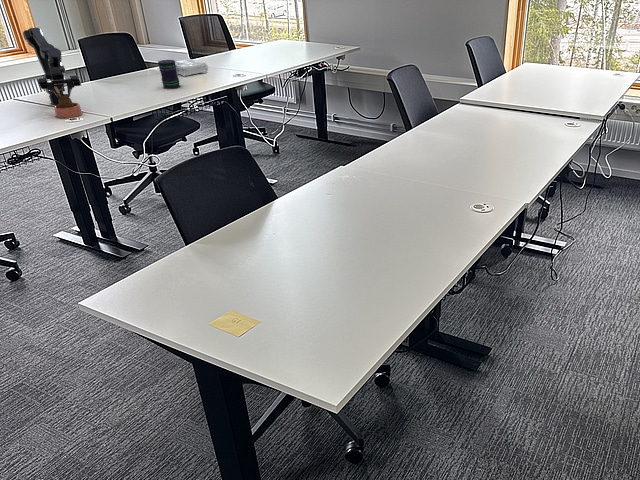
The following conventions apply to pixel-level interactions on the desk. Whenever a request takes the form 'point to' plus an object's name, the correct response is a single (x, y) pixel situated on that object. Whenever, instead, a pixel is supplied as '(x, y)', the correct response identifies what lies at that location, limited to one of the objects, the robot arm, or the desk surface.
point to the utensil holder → (64, 99)
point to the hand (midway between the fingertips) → (63, 96)
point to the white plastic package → (190, 67)
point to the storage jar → (169, 74)
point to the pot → (68, 111)
